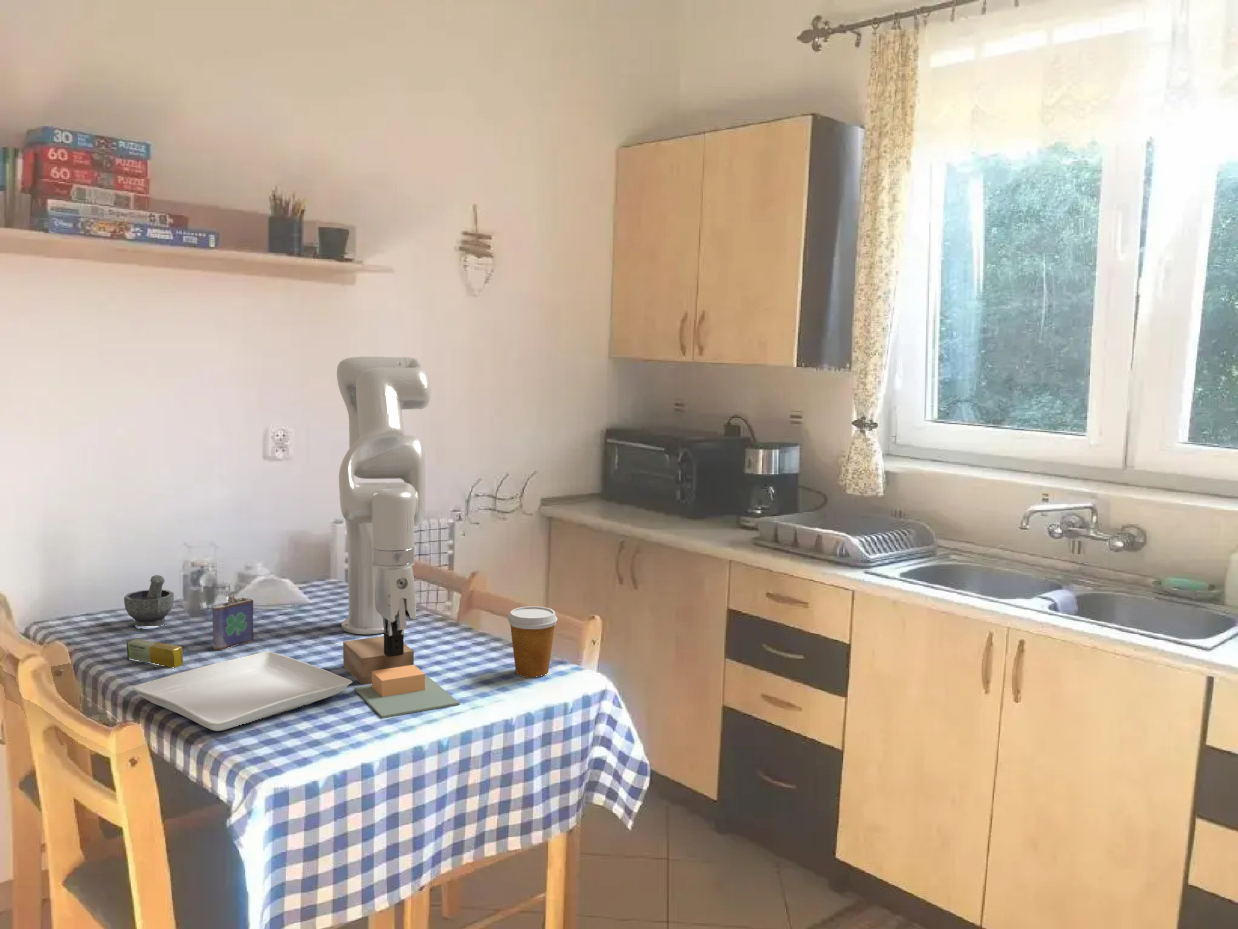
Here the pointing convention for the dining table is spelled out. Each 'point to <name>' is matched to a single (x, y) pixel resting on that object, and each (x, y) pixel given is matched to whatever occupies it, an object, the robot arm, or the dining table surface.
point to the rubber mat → (407, 700)
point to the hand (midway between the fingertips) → (393, 654)
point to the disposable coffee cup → (532, 639)
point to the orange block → (398, 680)
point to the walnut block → (371, 658)
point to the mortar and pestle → (150, 604)
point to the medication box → (155, 652)
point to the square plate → (242, 689)
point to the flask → (232, 622)
